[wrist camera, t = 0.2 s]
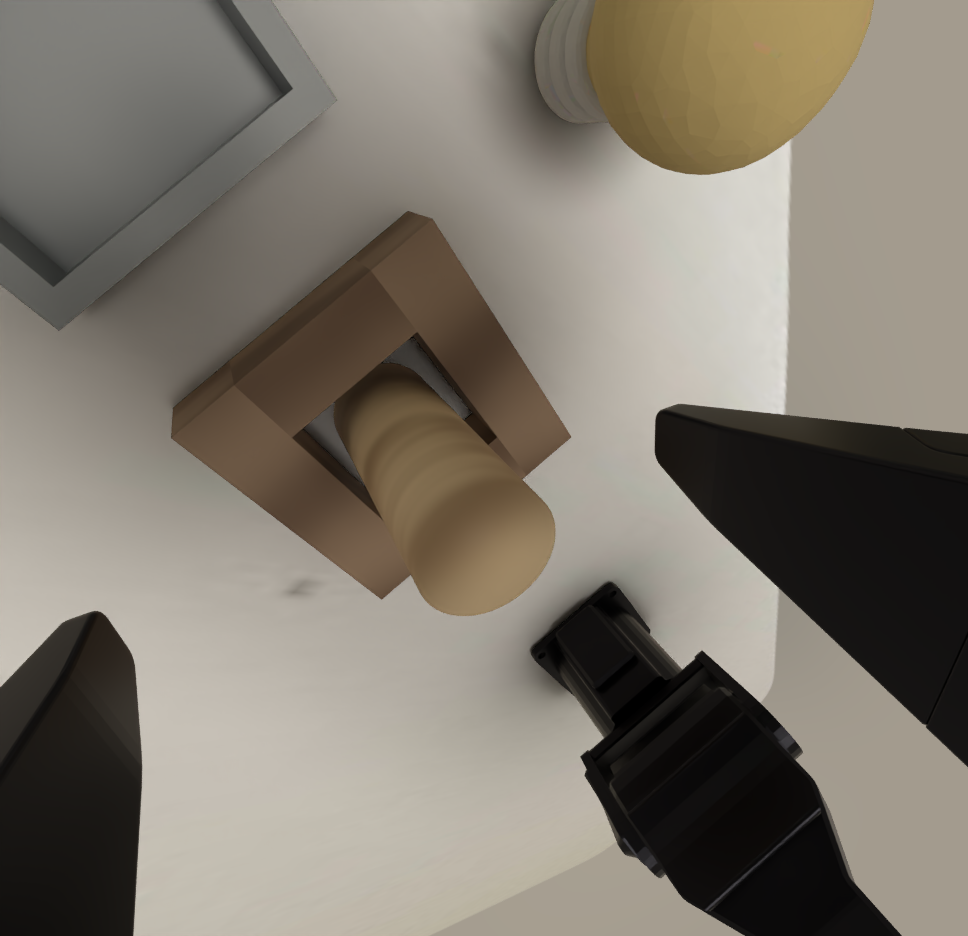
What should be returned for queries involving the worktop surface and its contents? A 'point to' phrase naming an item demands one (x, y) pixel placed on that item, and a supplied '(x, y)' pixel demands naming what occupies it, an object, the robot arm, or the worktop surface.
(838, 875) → the robot arm
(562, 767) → the worktop surface
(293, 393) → the square wooden frame
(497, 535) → the dowel
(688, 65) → the light bulb
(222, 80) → the tray
